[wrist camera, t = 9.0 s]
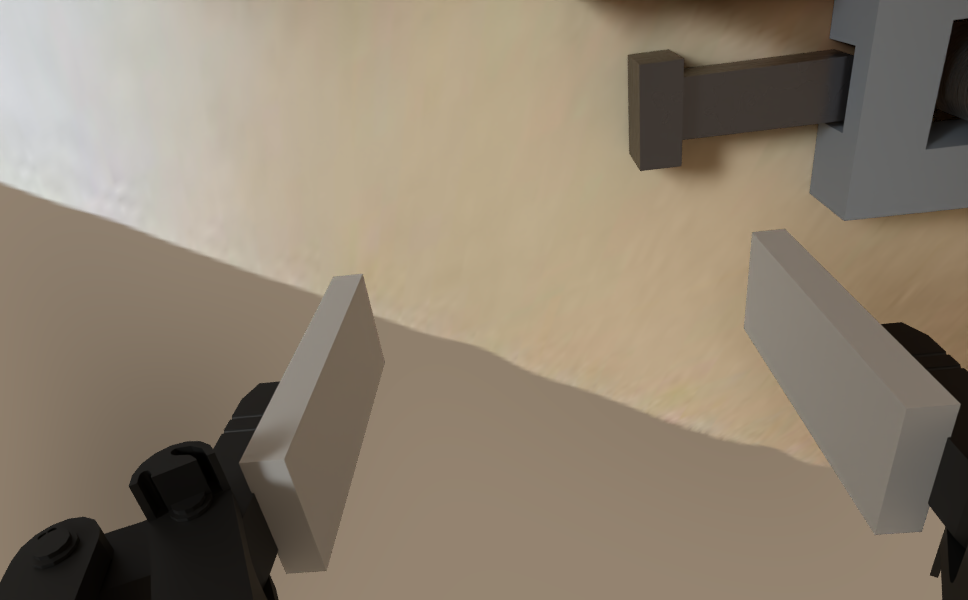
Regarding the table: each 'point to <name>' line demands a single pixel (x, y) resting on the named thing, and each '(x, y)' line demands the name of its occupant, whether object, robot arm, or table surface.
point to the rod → (955, 74)
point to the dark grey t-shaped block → (728, 99)
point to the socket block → (893, 115)
